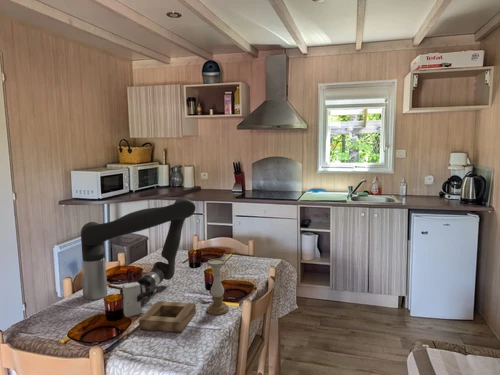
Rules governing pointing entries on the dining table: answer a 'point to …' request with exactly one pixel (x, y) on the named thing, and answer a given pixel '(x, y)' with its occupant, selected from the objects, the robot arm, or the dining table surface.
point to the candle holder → (217, 289)
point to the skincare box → (131, 299)
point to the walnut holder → (167, 317)
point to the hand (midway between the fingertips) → (129, 298)
